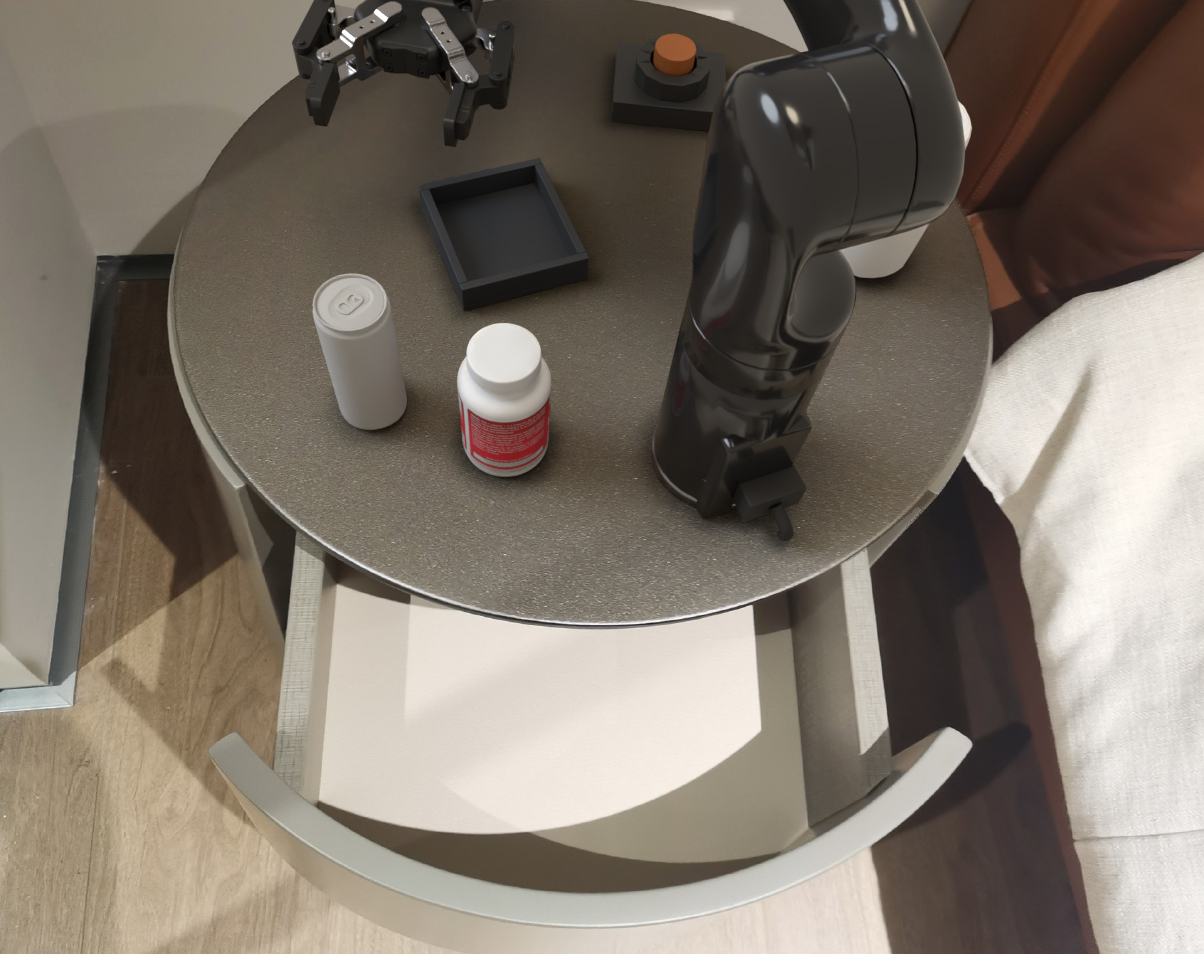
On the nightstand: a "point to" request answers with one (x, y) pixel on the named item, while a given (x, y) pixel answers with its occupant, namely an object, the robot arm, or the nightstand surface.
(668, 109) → the control block
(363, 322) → the beverage can
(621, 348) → the nightstand surface
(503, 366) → the pill bottle
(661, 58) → the button
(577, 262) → the tray
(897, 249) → the cup
